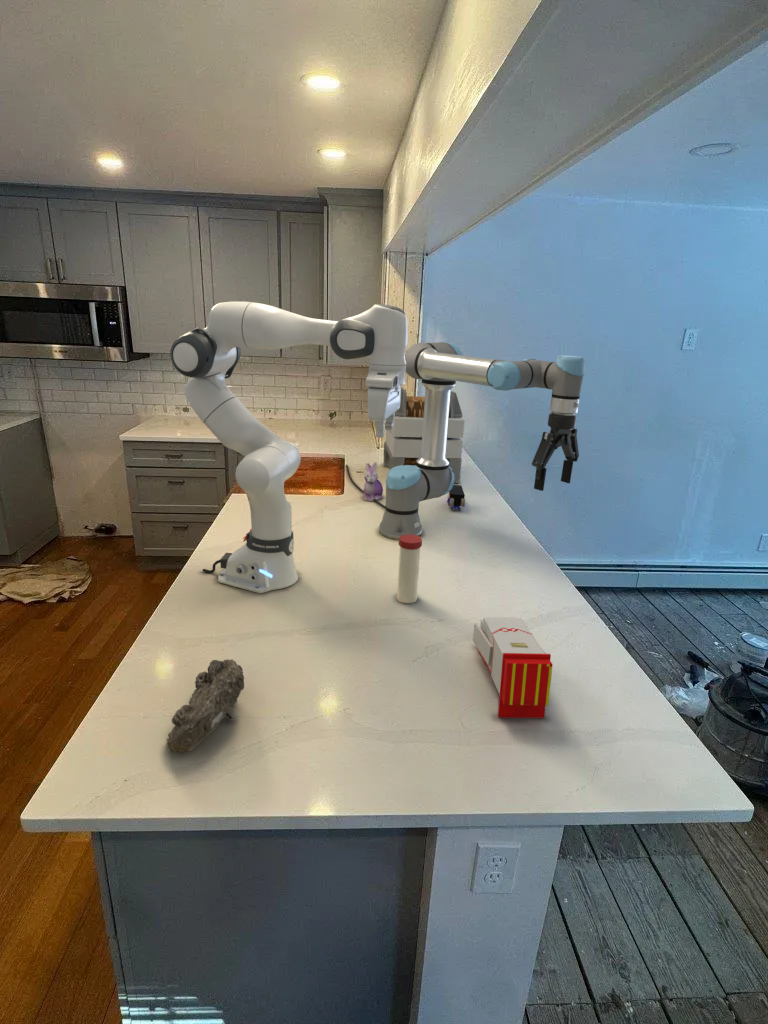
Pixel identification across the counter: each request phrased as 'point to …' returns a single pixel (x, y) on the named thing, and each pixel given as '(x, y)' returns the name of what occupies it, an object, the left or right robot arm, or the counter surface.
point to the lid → (410, 541)
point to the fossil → (206, 705)
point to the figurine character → (456, 497)
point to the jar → (408, 575)
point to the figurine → (372, 484)
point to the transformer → (409, 429)
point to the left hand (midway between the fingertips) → (384, 433)
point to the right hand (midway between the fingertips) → (552, 485)
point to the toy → (515, 666)
